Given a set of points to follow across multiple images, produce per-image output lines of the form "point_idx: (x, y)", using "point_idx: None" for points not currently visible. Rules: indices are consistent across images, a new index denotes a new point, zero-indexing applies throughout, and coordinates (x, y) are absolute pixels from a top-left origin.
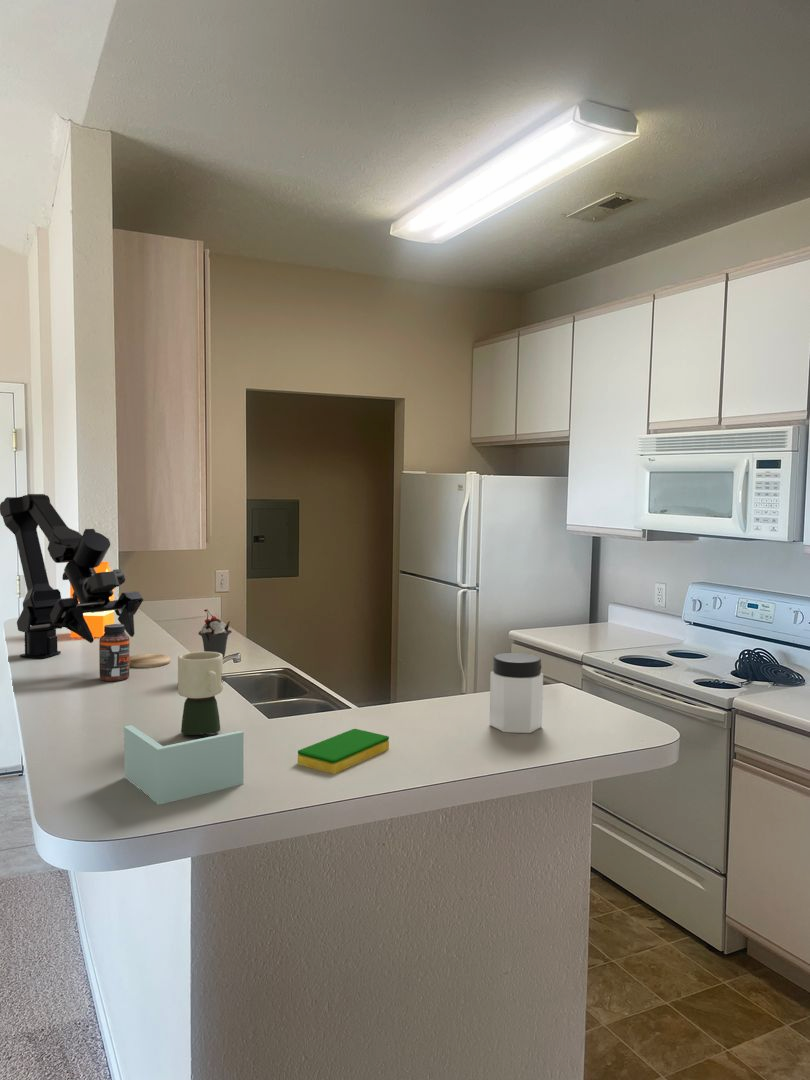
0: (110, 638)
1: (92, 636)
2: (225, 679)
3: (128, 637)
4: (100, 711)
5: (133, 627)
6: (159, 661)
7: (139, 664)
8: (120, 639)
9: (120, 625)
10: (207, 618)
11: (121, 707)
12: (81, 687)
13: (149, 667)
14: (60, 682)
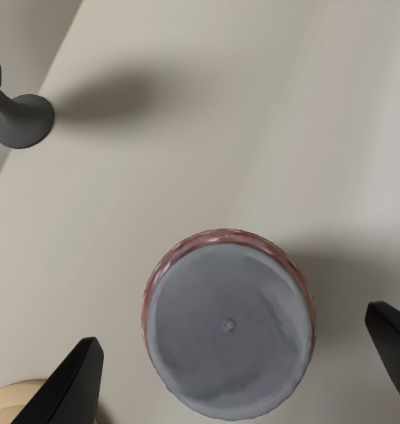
0: (275, 251)
1: (387, 315)
2: (12, 99)
3: (158, 264)
4: (363, 17)
5: (52, 377)
6: (10, 395)
7: None
8: (221, 229)
9: (191, 280)
10: None
11: (314, 21)
12: (348, 253)
13: None
14: None
